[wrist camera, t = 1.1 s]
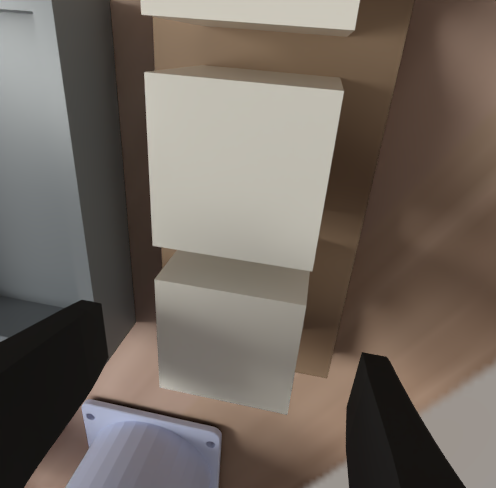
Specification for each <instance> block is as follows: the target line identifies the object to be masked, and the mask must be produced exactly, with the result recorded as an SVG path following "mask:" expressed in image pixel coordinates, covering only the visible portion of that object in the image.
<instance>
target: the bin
mask: <svg viewBox="0 0 496 488" xmlns="http://www.w3.org/2000/svg"><path fill="white" fill-rule="evenodd" d="M80 300H86V301H92V302H97V303H101V304H102V311H103V319H104V326H105V333H106V341H107V348H108V356H109V358H108V360H109V359H110V358H111V356H112V355H113V353H114V352H115V351H116V349H117V348H118V346H119V345H120V344H121V342H122V341H123V340H124V338H125V337H126V335H127V334H128V333H129V331H130V330H131V328H132V327H133V326H134V324H135V323H136V319H135V307H134V294H133V282H132V270H131V258H130V245H129V233H128V221H127V208H126V196H125V184H124V172H123V159H122V147H121V135H120V122H119V110H118V98H117V86H116V73H115V61H114V49H113V36H112V24H111V12H110V0H0V342H1V341H3V340H5V339H7V338H9V337H11V336H13V335H15V334H17V333H19V332H20V331H22V330H24V329H26V328H28V327H30V326H32V325H34V324H36V323H37V322H39V321H41V320H43V319H45V318H47V317H49V316H50V315H52V314H54V313H56V312H58V311H60V310H62V309H64V308H66V307H68V306H69V305H71V304H73V303H76V302H78V301H80ZM108 360H107V362H108ZM107 362H106V363H107ZM105 365H106V364H105Z"/></svg>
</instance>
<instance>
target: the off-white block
mask: <svg viewBox="0 0 496 488" xmlns="http://www.w3.org/2000/svg"><path fill="white" fill-rule="evenodd" d="M359 3H360V0H141V15H145V16H151V17H156V18H162V19H167V20H173V21H178V22H184V23H189V24H194V25H200V26H209V27H222V28H235V29H248V30H261V31H275V32H288V33H301V34H314V35H327V36H341V37H348V36H349V35H350V34H351V33H352V32H353V31H355V26H356V20H357V14H358V9H359Z"/></svg>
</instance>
